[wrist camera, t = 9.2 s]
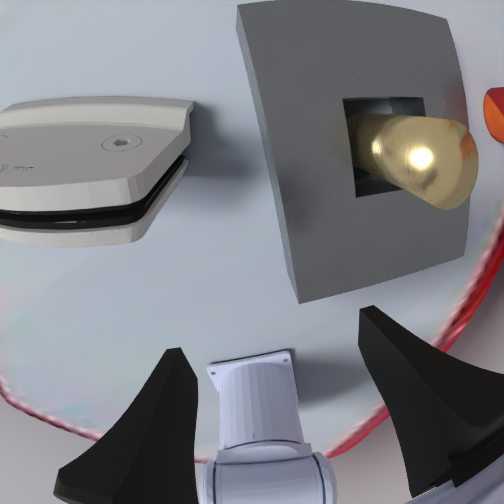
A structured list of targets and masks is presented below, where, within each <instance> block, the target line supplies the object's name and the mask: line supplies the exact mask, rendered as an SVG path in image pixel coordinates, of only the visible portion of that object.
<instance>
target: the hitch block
mask: <svg viewBox="0 0 504 504" xmlns="http://www.w3.org/2000/svg"><path fill="white" fill-rule="evenodd" d="M236 30H237V34H238V38H239V42H240V46H241V50H242V54H243V58H244V62H245V66H246V70H247V74H248V79H249V83H250V87H251V91H252V96H253V100H254V104H255V109H256V113H257V118H258V122H259V127H260V131H261V136H262V141H263V145H264V150H265V155H266V160H267V165H268V170H269V174H270V179H271V184H272V189H273V195H274V200H275V205H276V210H277V215H278V221H279V226H280V231H281V237H282V242H283V248H284V254H285V259H286V265H287V271H288V275H289V278H290V280H291V283H292V286H293V289H294V292H295V294H296V297H297V300H298V303H299V304H302V303H306V302H310V301H314V300H318V299H322V298H326V297H330V296H334V295H338V294H342V293H345V292H349V291H353V290H356V289H360V288H364V287H367V286H371V285H374V284H378V283H381V282H385V281H388V280H391V279H395V278H398V277H401V276H405V275H408V274H411V273H414V272H417V271H420V270H424V269H427V268H430V267H433V266H436V265H439V264H442V263H445V262H447V261H450V260H453V259H456V258H459V257H462V256H464V251H465V244H466V236H467V228H468V218H469V205H470V195H469V196H468V198H467V199H466V200H465V201H464V202H463V203H462V204H461V205H459V206H458V207H456V208H453V209H449V210H443V209H439V208H437V207H435V206H434V205H432V204H430V203H428V202H426V201H425V200H423V199H421V198H419V197H417V196H415V195H413V194H411V193H410V192H408V191H406V190H404V189H402V188H400V187H398V186H396V185H394V184H392V183H390V182H388V181H385V180H383V179H381V178H379V177H377V176H371V177H365V178H359V179H354V174H353V165H352V157H351V150H350V143H349V136H348V130H347V123H346V118H345V112H344V106H343V101H352V100H372V99H391V105H392V111H393V114H398V115H411V116H422V117H431V118H440V119H447V120H454V121H457V122H459V123H461V124H462V125H464V126H465V127H466V128H467V129H468V131H469V124H468V115H467V106H466V99H465V92H464V86H463V81H462V75H461V71H460V66H459V61H458V57H457V53H456V49H455V45H454V42H453V38H452V35H451V31H450V28H449V25H448V22H447V19H445V18H441V17H438V16H434V15H431V14H427V13H423V12H419V11H415V10H410V9H406V8H401V7H395V6H390V5H384V4H377V3H369V2H361V1H350V0H275V1H264V2H255V3H247V4H240V5H237V21H236Z"/></svg>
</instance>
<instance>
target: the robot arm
mask: <svg viewBox="0 0 504 504" xmlns="http://www.w3.org/2000/svg"><path fill="white" fill-rule="evenodd" d="M358 346H359V348H360V351H361V354H362V357H363V359H364V362H365V365H366V367H367V369H368V371H369V372H370V374H371V376H372V378H373V380H374V382H375V384H376V386H377V388H378V390H379V392H380V394H381V396H382V398H383V400H384V402H385V404H386V406H387V408H388V410H389V413H390V415H391V418H392V421H393V424H394V427H395V430H396V433H397V437H398V440H399V443H400V447H401V451H402V455H403V458H404V463H405V467H406V472H407V478H408V482H409V490H410V493H411V496H412V498H414V497H416V496H418V495H421V494H423V493H425V492H426V491H429V490H431V489H432V488H434V487H436V488H435V489H433V490H431V491H429V492H427V493H426V494H424V495H422V496H420V497H418V498H415V499H413V500H411V501H409V502H407V503H405V504H504V374H500V373H496V372H492V371H489V370H485V369H482V368H479V367H476V366H473V365H471V364H468V363H466V362H463V361H461V360H458V359H456V358H454V357H452V356H450V355H448V354H446V353H444V352H442V351H440V350H438V349H437V348H435V347H433V346H431V345H430V344H428V343H426V342H425V341H423V340H422V339H420V338H419V337H417V336H415V335H414V334H413V333H411V332H410V331H408V330H407V329H405V328H404V327H403V326H401V325H400V324H398V323H397V322H396V321H394V320H393V319H392V318H390V317H389V316H388V315H386V314H385V313H384V312H382V311H381V310H380V309H378V308H377V307H375V306H374V305H372V306H368V307H365V308H362V309H360V313H359V336H358ZM286 358H287V359H286ZM207 372H208V374H209V376H210V377H211V379H212V381H213V383H214V385H215V387H216V389H217V391H218V392H219V394H220V450H217V451H216V461H208V462H207V464H206V465H205V466H204V467H203V468H202V470H201V474H200V504H336V502H337V482H336V477H335V473H334V470H333V467H332V465H331V463H330V461H329V460H328V459H327V458H326V457H325V456H323V455H322V454H321V453H320V452H314V453H312V449H311V444H310V443H306V444H305V442H304V438H303V433H302V428H301V424H300V419H299V414H298V410H297V405H296V404H298V403H299V400H298V395H297V389H296V383H295V378H294V372H293V366H292V361H291V356H290V352H289V351H281V352H276V353H271V354H267V355H262V356H256V357H251V358H246V359H240V360H234V361H229V362H222V363H216V364H210V365H208V366H207ZM197 408H198V380H197V377H196V375H195V373H194V371H193V370H192V368H191V366H190V364H189V362H188V360H187V359H186V357H185V355H184V353H183V351H182V349H181V347H179V348H172V349H167V350H166V351H165V353H164V354H163V356H162V357H161V359H160V361H159V362H158V364H157V365H156V367H155V369H154V370H153V372H152V373H151V375H150V377H149V378H148V380H147V381H146V383H145V384H144V386H143V388H142V389H141V391H140V392H139V394H138V395H137V396H136V398H135V399H134V401H133V402H132V403H131V405H130V406H129V408H128V409H127V410H126V411H125V413H124V414H123V415H122V416H121V418H120V419H119V420H118V421H117V422H116V423H115V424H114V426H113V427H112V428H111V429H110V430H109V431H108V432H107V433H106V434H105V435H104V436H103V437H102V438H101V439H99V440H98V441H97V442H96V443H95V444H94V445H93V446H92V447H91V448H89V449H88V450H87V451H86V452H84V453H83V454H82V455H80V456H79V457H78V458H76V459H75V460H73V461H72V462H70V463H68V464H67V465H65V466H64V467H62V468H60V469H59V472H58V475H57V479H56V484H55V488H54V492H53V494H54V496H55V497H57V498H59V499H60V500H62V501H64V502H66V503H68V504H199V503H198V496H197V489H196V478H195V465H194V441H195V430H196V419H197Z"/></svg>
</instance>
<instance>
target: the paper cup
mask: <svg viewBox="0 0 504 504" xmlns="http://www.w3.org/2000/svg"><path fill="white" fill-rule="evenodd" d="M484 117H485V122H486V125H487V128H488V130H489V132H490V134H491V135H492V137H493V138H494V139H495V140H497V141H499V142H501V143H504V87H499V88H491V89H489V90H488V91H487V93H486V95H485V98H484Z"/></svg>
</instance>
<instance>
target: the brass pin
mask: <svg viewBox="0 0 504 504" xmlns="http://www.w3.org/2000/svg"><path fill="white" fill-rule="evenodd" d="M346 123H347V130H348V136H349V143H350V150H351V157H352V165H353V166H355V167H357V168H359V169H362V170H364V171H366V172H368V173H370V174H373V175H375V176H377V177H379V178H381V179H383V180H385V181H388V182H390V183H392V184H394V185H396V186H398V187H400V188H402V189H404V190H406V191H408V192H410V193H411V194H413V195H415V196H417V197H419V198H421V199H423V200H425V201H426V202H428V203H430V204H432V205H434V206H435V207H437V208H439V209H443V210H449V209H453V208H456V207H458V206H459V205H461V204H462V203H463V202H464V201H465V200H466V199H467V198H468V196H469V195H470V193H471V191H472V190H473V187H474V185H475V182H476V179H477V174H478V152H477V147H476V144H475V141H474V139H473V137H472V135H471V133H470V132H469V131H468V129H467V128H466V127H465V126H464V125H462V124H461V123H459V122H457V121H454V120H447V119H440V118H431V117H422V116H411V115H398V114H377V113H357V114H354V115H352V116H350V117H348V118H347V119H346Z"/></svg>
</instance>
